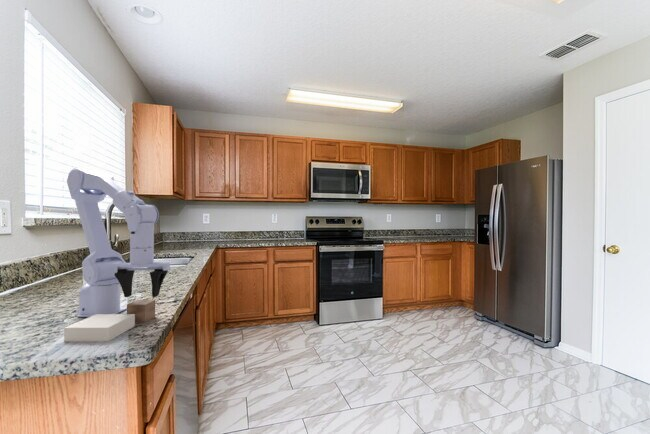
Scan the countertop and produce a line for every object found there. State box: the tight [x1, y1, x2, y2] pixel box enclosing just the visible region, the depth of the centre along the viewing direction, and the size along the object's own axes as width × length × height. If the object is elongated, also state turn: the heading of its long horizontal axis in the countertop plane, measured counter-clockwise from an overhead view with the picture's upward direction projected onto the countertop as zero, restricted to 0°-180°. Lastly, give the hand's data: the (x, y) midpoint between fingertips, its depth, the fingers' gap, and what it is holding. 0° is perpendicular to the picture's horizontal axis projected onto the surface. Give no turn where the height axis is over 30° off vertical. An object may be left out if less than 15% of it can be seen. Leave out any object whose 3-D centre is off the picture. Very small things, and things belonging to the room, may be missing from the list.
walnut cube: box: [126, 299, 156, 324], centre depth 84 cm, size 5×5×5 cm
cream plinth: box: [63, 313, 136, 342], centre depth 74 cm, size 10×10×4 cm
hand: (141, 296), depth 84 cm, fingers open, 7 cm apart
